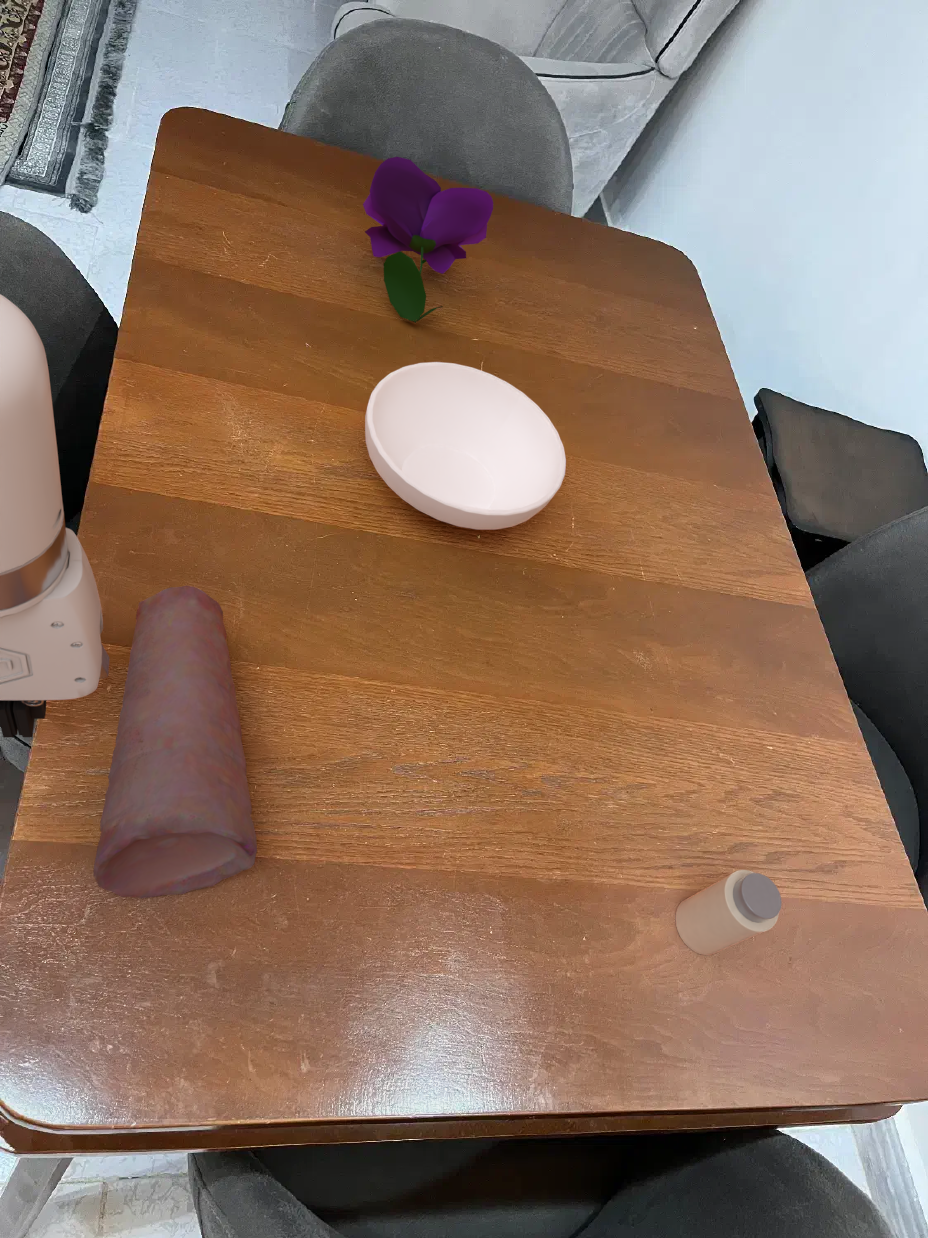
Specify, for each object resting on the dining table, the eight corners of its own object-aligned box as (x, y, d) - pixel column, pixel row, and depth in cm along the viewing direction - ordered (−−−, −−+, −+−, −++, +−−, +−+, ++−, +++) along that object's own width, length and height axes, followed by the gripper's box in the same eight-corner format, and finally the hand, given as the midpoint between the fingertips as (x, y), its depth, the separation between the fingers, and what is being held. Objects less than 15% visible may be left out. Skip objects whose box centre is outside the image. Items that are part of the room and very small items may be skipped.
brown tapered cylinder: (249, 885, 57) (266, 841, 50) (96, 907, 53) (91, 862, 46) (222, 620, 67) (233, 553, 60) (93, 623, 63) (89, 552, 56)
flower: (457, 359, 104) (466, 257, 105) (499, 304, 90) (509, 188, 91) (340, 333, 99) (351, 227, 101) (365, 272, 85) (377, 149, 87)
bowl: (308, 469, 79) (322, 414, 73) (429, 389, 91) (448, 335, 85) (468, 598, 76) (495, 550, 71) (571, 497, 88) (600, 450, 83)
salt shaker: (684, 958, 64) (746, 930, 57) (668, 899, 66) (726, 866, 59) (732, 952, 65) (798, 924, 59) (714, 895, 67) (776, 862, 61)
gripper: (-241, 595, 35) (-130, 774, 49) (145, 609, 40) (143, 768, 54) (-195, 462, 39) (-104, 664, 53) (151, 490, 44) (148, 667, 58)
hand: (21, 716), depth 54 cm, fingers closed
